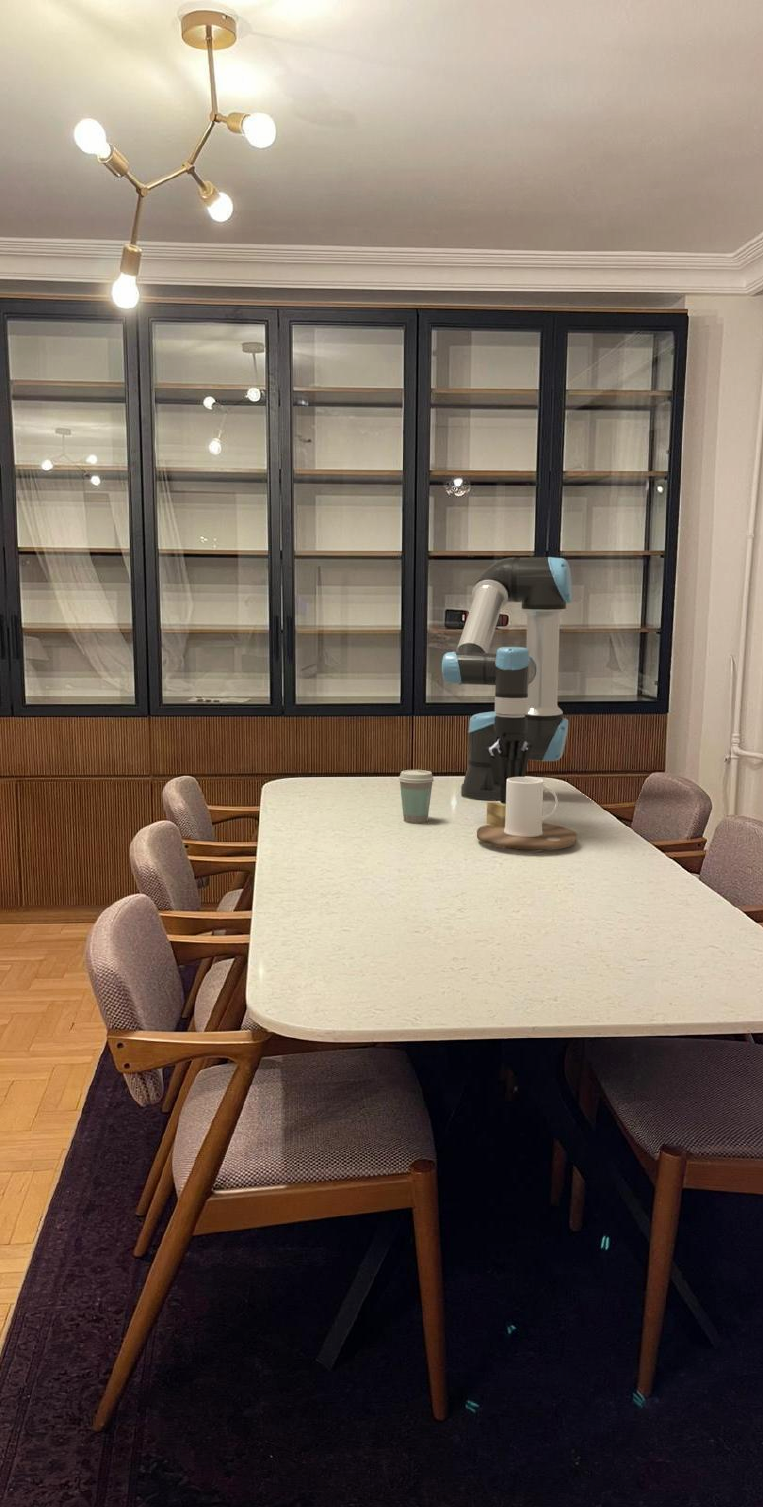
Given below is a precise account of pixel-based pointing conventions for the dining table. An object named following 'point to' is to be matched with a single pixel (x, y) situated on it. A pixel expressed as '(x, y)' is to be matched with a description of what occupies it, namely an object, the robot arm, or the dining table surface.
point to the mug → (525, 806)
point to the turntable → (548, 840)
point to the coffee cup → (416, 794)
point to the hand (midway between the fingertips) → (507, 816)
